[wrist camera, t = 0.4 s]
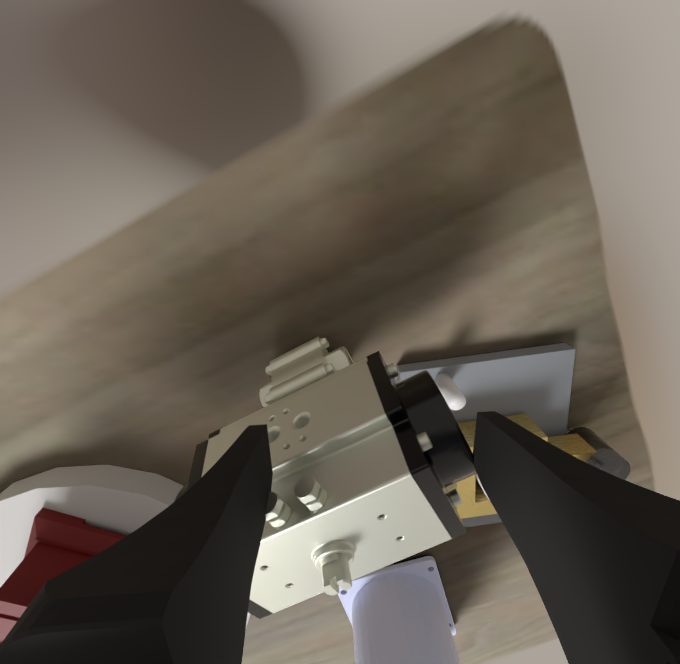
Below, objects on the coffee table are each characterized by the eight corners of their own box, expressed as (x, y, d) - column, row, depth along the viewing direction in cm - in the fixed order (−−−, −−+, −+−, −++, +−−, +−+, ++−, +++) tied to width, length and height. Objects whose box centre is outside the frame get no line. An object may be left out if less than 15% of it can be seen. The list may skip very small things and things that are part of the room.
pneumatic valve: (409, 349, 22) (522, 549, 12) (246, 429, 24) (227, 668, 14) (375, 277, 19) (485, 461, 9) (190, 372, 21) (113, 624, 11)
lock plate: (549, 503, 27) (587, 555, 23) (408, 523, 27) (423, 578, 23) (564, 342, 23) (616, 373, 19) (396, 365, 23) (412, 400, 19)
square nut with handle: (588, 470, 25) (623, 505, 22) (444, 489, 25) (460, 527, 22) (598, 403, 23) (637, 432, 20) (442, 424, 23) (460, 456, 20)
